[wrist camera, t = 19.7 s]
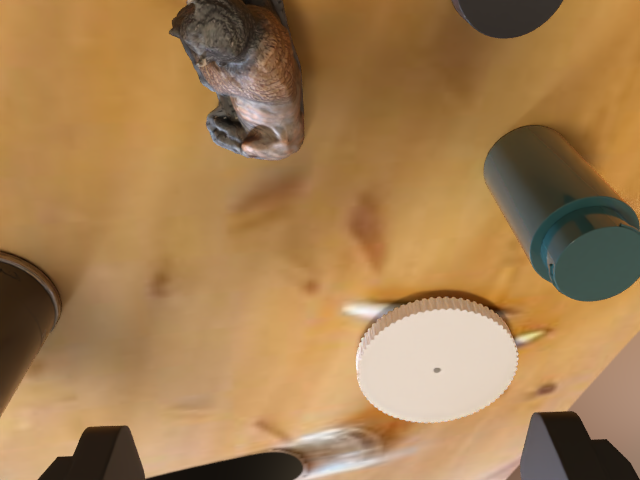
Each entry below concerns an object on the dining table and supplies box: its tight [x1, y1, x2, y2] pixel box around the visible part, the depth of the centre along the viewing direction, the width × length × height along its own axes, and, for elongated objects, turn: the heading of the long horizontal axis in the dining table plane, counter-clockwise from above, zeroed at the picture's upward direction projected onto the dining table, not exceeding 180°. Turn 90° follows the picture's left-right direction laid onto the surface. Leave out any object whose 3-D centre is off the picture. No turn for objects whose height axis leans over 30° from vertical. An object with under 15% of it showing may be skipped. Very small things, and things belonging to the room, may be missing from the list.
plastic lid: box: [356, 297, 519, 423], centre depth 50 cm, size 14×14×2 cm
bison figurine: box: [169, 0, 304, 160], centre depth 33 cm, size 12×7×10 cm, turn 14°
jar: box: [484, 126, 640, 301], centre depth 36 cm, size 6×6×13 cm
